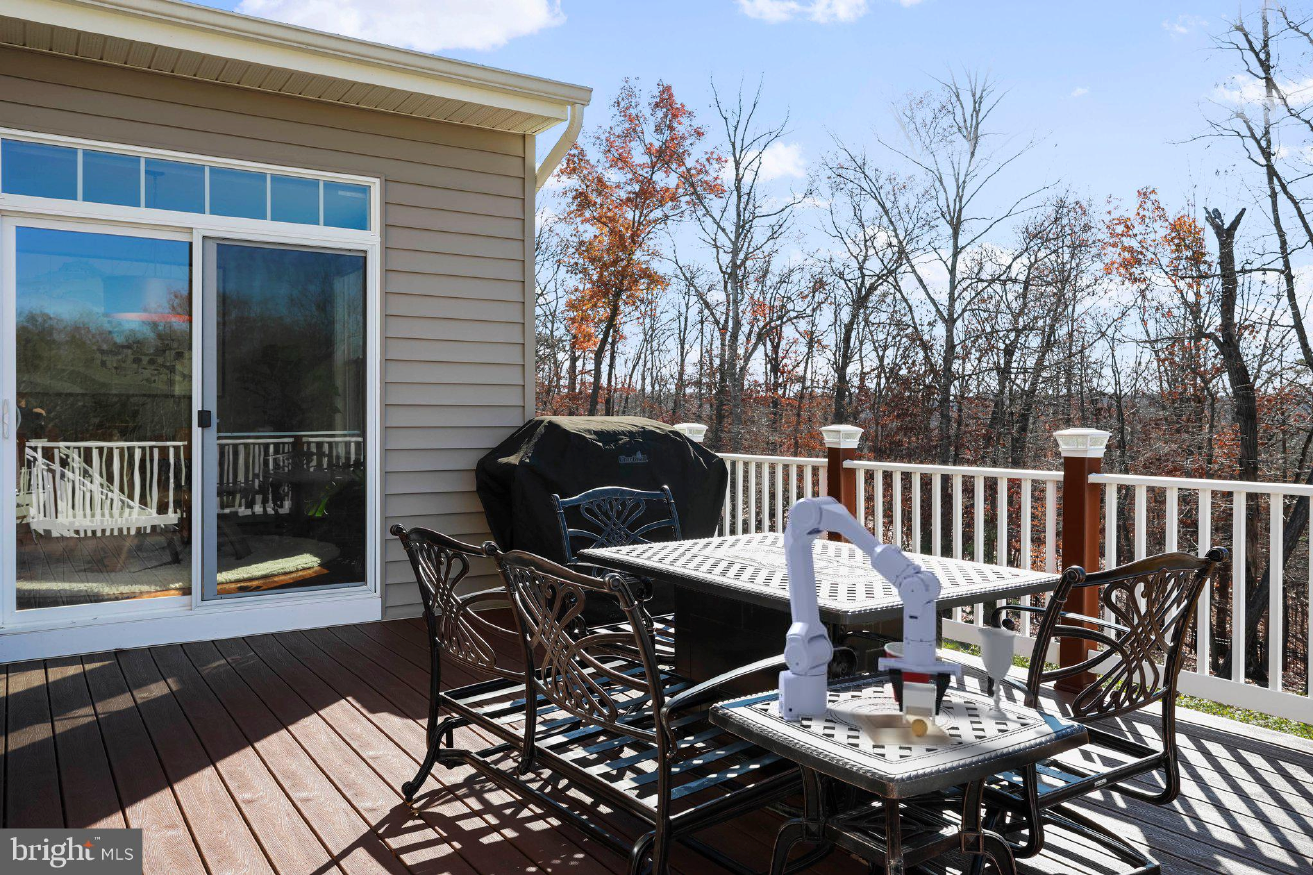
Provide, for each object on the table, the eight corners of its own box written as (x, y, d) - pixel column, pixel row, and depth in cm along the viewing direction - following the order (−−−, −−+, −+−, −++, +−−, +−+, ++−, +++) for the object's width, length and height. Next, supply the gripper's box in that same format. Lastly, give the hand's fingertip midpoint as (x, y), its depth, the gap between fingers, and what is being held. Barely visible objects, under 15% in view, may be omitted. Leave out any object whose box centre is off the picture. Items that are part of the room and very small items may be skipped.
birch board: (875, 751, 151) (875, 743, 151) (849, 720, 168) (849, 713, 168) (958, 750, 152) (958, 743, 152) (924, 719, 169) (924, 713, 169)
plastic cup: (929, 717, 171) (929, 657, 171) (876, 707, 177) (877, 650, 177) (944, 702, 180) (944, 646, 180) (893, 693, 186) (893, 639, 186)
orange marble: (914, 738, 155) (914, 721, 155) (908, 732, 158) (908, 716, 158) (930, 738, 155) (930, 721, 155) (924, 732, 158) (924, 716, 158)
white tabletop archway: (902, 722, 155) (903, 689, 155) (903, 713, 160) (903, 681, 160) (935, 726, 153) (935, 692, 153) (934, 716, 158) (935, 684, 158)
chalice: (969, 719, 169) (969, 629, 169) (995, 715, 172) (995, 626, 172) (998, 731, 162) (998, 637, 162) (1024, 726, 165) (1024, 634, 165)
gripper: (877, 639, 155) (877, 714, 155) (962, 646, 150) (961, 722, 150) (879, 631, 162) (879, 703, 161) (960, 637, 157) (960, 711, 157)
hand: (919, 712), depth 156 cm, fingers closed on white tabletop archway, 6 cm apart
